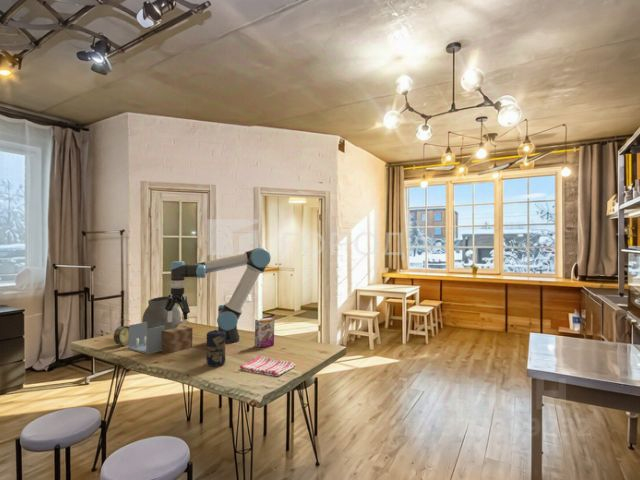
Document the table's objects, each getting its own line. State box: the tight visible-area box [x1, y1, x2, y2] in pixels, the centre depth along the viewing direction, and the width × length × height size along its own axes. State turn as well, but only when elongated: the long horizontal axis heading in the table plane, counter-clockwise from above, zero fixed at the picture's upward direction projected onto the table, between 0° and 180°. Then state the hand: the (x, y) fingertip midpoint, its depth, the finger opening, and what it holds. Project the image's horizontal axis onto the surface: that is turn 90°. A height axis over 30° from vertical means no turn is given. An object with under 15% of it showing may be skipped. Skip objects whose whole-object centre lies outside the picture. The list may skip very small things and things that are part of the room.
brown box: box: [161, 325, 193, 355], centre depth 218 cm, size 15×8×12 cm, turn 147°
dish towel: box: [239, 355, 296, 377], centre depth 187 cm, size 17×23×4 cm
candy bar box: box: [254, 317, 275, 349], centre depth 226 cm, size 11×5×16 cm, turn 123°
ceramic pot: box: [141, 295, 182, 330], centre depth 253 cm, size 24×24×25 cm
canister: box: [205, 329, 226, 367], centre depth 192 cm, size 10×10×18 cm
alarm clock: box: [113, 318, 129, 348], centre depth 225 cm, size 11×5×16 cm, turn 168°
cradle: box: [128, 322, 165, 355], centre depth 218 cm, size 19×11×14 cm, turn 57°
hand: (176, 323), depth 218 cm, fingers open, 13 cm apart
